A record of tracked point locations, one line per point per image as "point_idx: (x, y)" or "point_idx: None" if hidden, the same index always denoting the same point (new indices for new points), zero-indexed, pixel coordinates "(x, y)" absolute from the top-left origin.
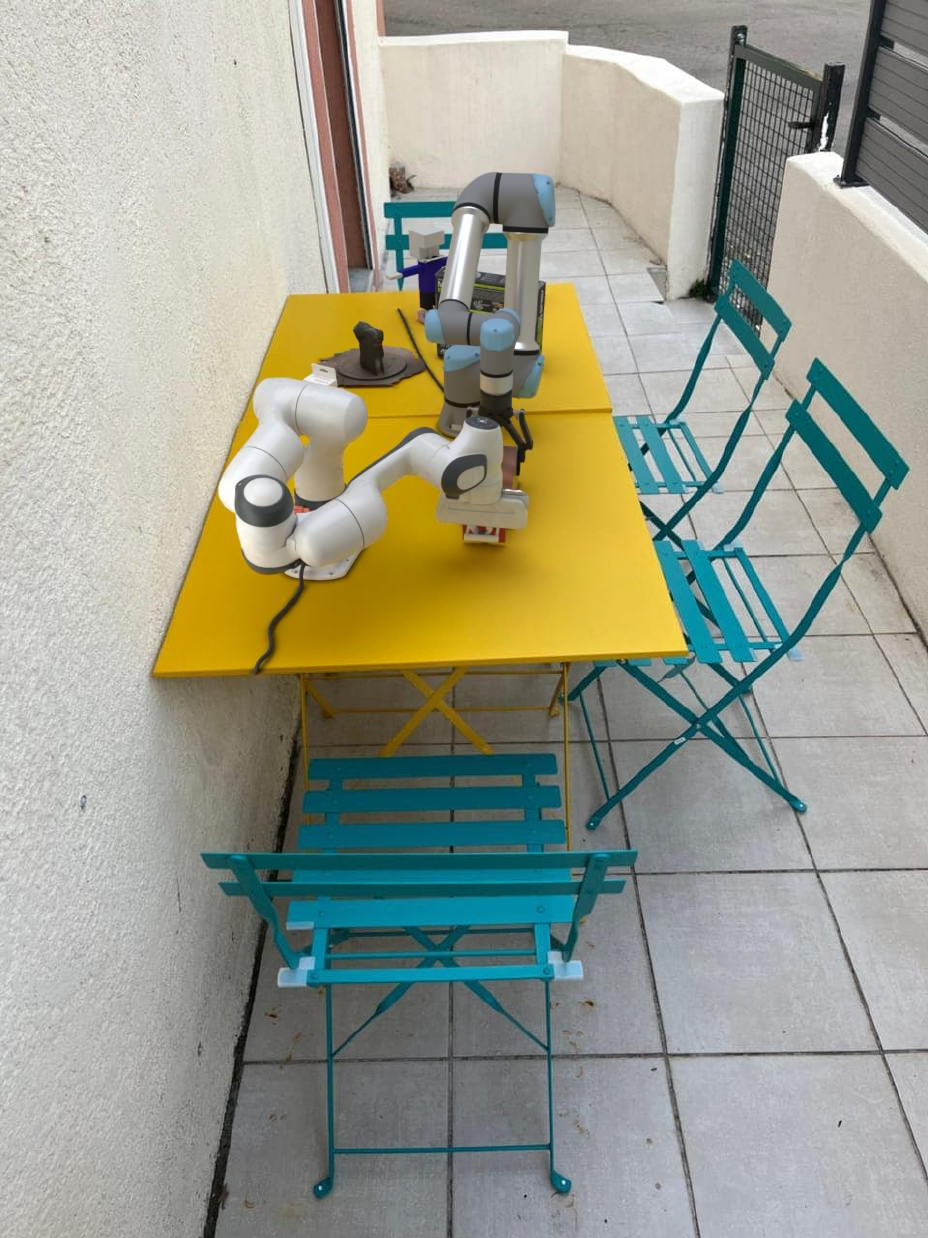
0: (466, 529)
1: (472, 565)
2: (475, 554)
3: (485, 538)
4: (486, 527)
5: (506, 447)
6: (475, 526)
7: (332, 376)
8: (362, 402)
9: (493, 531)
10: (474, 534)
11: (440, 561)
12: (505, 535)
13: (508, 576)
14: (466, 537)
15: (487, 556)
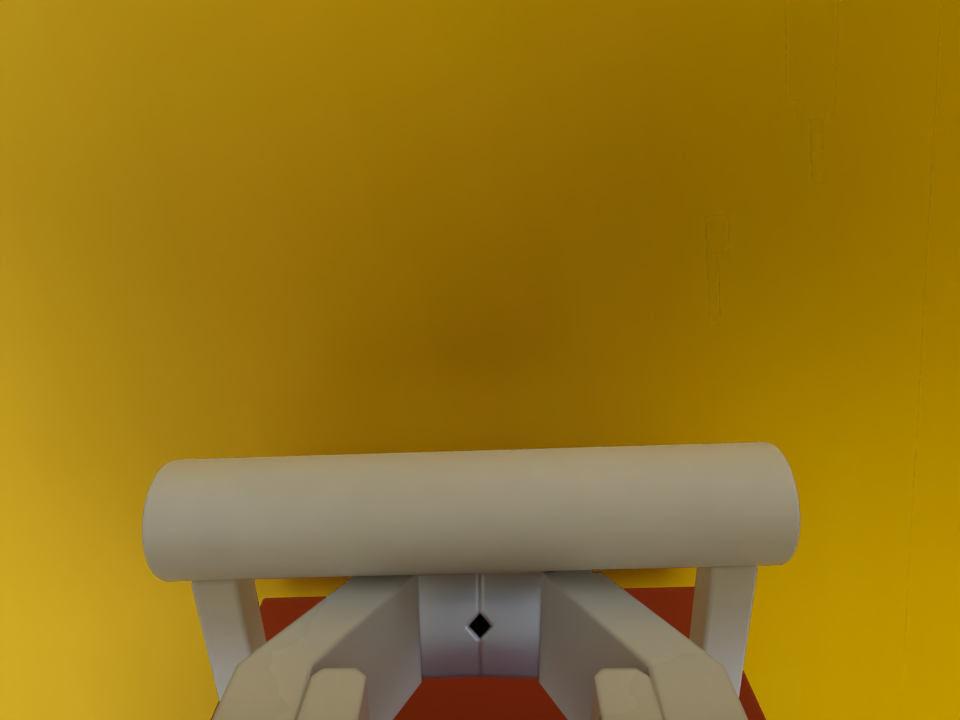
0: (741, 670)
1: (553, 222)
2: (544, 418)
3: (380, 484)
4: (351, 714)
5: None
6: (613, 715)
7: None
8: None
9: None
10: (599, 548)
11: (927, 240)
12: None
13: (87, 67)
14: (739, 469)
15: (415, 404)
